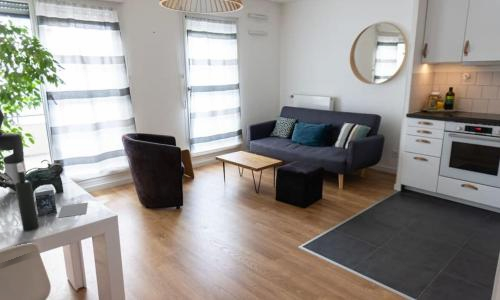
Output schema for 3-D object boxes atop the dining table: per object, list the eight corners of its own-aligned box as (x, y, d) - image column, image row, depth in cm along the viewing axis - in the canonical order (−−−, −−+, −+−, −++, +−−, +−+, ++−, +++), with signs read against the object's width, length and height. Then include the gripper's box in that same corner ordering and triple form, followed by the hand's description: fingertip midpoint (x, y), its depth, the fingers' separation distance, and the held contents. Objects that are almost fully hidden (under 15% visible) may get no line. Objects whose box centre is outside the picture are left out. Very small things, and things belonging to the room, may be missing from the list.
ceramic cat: (64, 189, 191) (59, 156, 186) (67, 192, 187) (63, 158, 182) (23, 198, 177) (17, 163, 172) (27, 202, 173) (20, 166, 168)
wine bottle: (37, 223, 151) (26, 161, 143) (39, 228, 147) (28, 164, 139) (22, 227, 147) (10, 163, 139) (24, 232, 143) (12, 166, 135)
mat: (62, 206, 169) (62, 205, 169) (87, 202, 173) (87, 202, 173) (57, 217, 157) (57, 217, 156) (85, 213, 161) (85, 213, 161)
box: (38, 217, 157) (34, 196, 155) (38, 212, 162) (34, 192, 159) (57, 213, 162) (54, 192, 159) (56, 208, 166) (53, 189, 163)
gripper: (-18, 165, 141) (20, 188, 149) (-8, 157, 153) (27, 179, 161) (-31, 178, 141) (8, 201, 148) (-19, 169, 153) (16, 190, 160)
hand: (18, 189), depth 154 cm, fingers closed
